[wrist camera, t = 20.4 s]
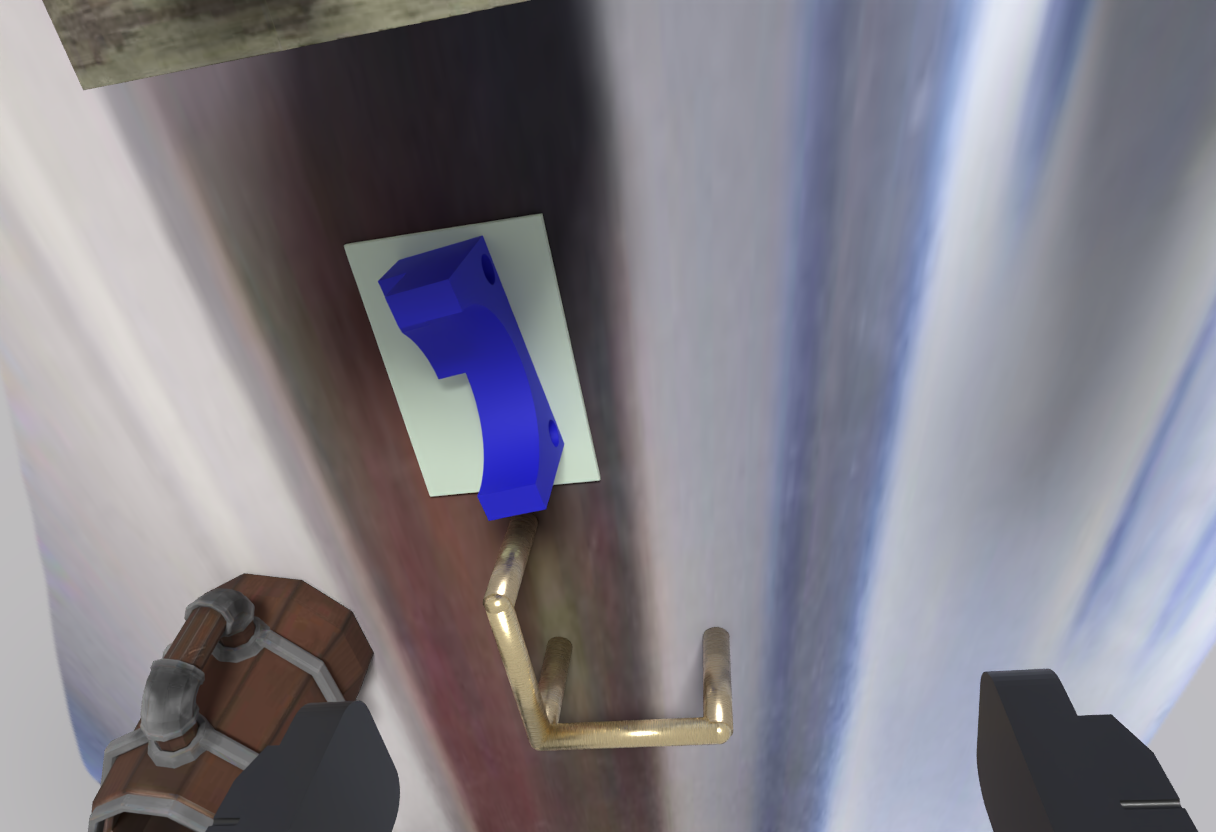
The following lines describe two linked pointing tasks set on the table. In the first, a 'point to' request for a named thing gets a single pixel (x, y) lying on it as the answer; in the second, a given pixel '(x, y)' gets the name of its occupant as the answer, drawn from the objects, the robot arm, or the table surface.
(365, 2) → the tabletop clock
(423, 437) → the pad
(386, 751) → the robot arm
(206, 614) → the mug
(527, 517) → the wire track
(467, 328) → the cable clip
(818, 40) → the table surface
